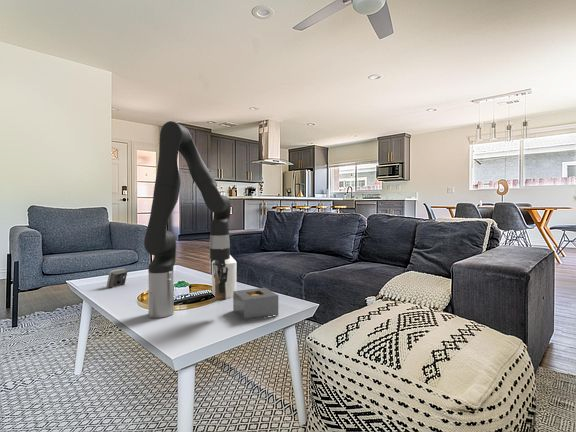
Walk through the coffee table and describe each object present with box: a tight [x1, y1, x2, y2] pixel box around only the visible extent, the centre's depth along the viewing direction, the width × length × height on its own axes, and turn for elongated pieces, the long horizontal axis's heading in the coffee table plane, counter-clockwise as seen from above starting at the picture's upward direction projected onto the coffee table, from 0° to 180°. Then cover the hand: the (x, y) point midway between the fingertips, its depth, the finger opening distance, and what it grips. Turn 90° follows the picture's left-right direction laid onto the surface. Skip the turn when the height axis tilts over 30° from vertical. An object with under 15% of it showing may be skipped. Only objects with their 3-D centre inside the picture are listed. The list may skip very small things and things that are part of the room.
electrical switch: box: [106, 268, 128, 289], centre depth 176 cm, size 9×5×9 cm, turn 159°
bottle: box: [211, 254, 238, 299], centre depth 157 cm, size 12×12×25 cm
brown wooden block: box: [214, 268, 227, 302], centre depth 125 cm, size 4×4×12 cm
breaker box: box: [232, 287, 279, 322], centre depth 130 cm, size 14×14×8 cm
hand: (220, 291), depth 125 cm, fingers closed on brown wooden block, 4 cm apart
